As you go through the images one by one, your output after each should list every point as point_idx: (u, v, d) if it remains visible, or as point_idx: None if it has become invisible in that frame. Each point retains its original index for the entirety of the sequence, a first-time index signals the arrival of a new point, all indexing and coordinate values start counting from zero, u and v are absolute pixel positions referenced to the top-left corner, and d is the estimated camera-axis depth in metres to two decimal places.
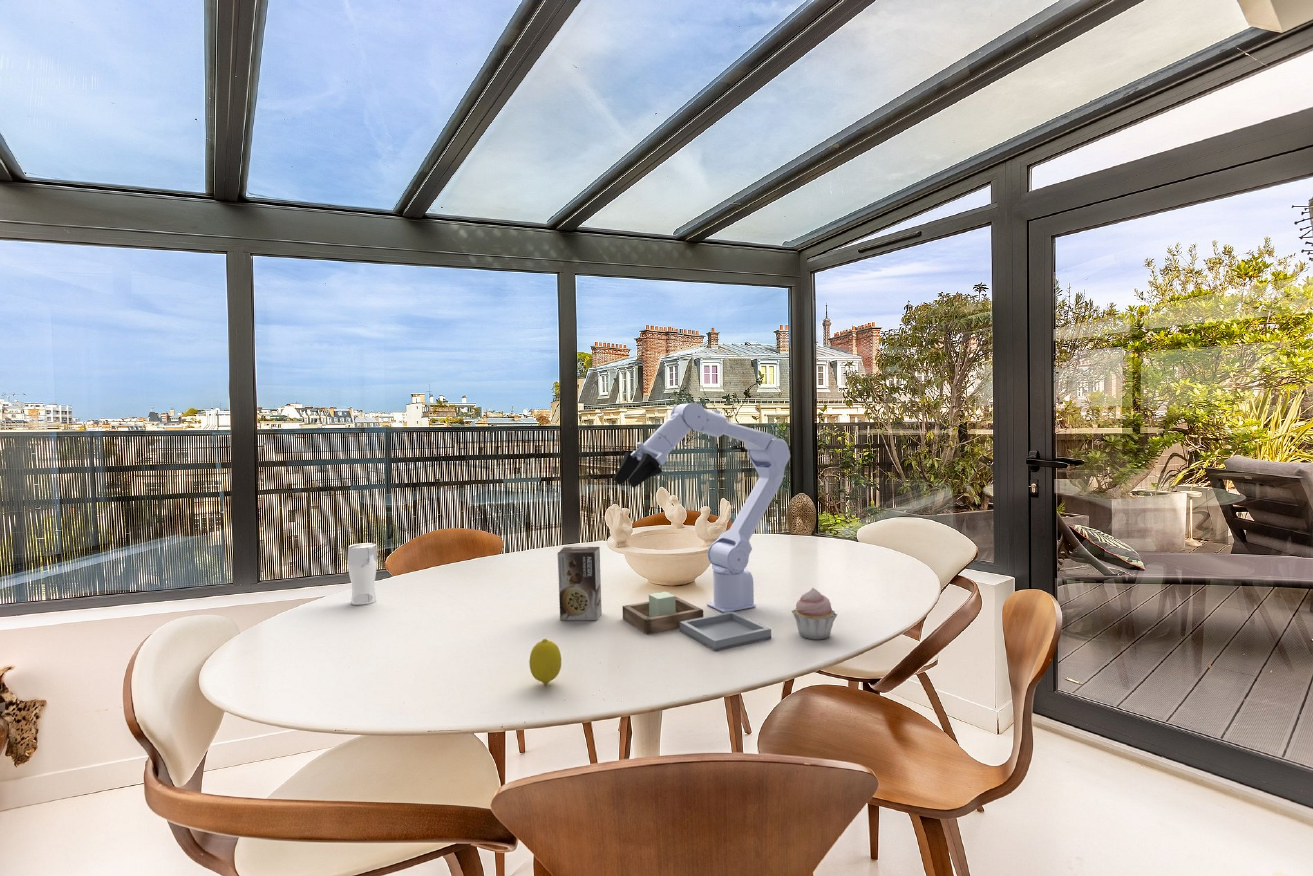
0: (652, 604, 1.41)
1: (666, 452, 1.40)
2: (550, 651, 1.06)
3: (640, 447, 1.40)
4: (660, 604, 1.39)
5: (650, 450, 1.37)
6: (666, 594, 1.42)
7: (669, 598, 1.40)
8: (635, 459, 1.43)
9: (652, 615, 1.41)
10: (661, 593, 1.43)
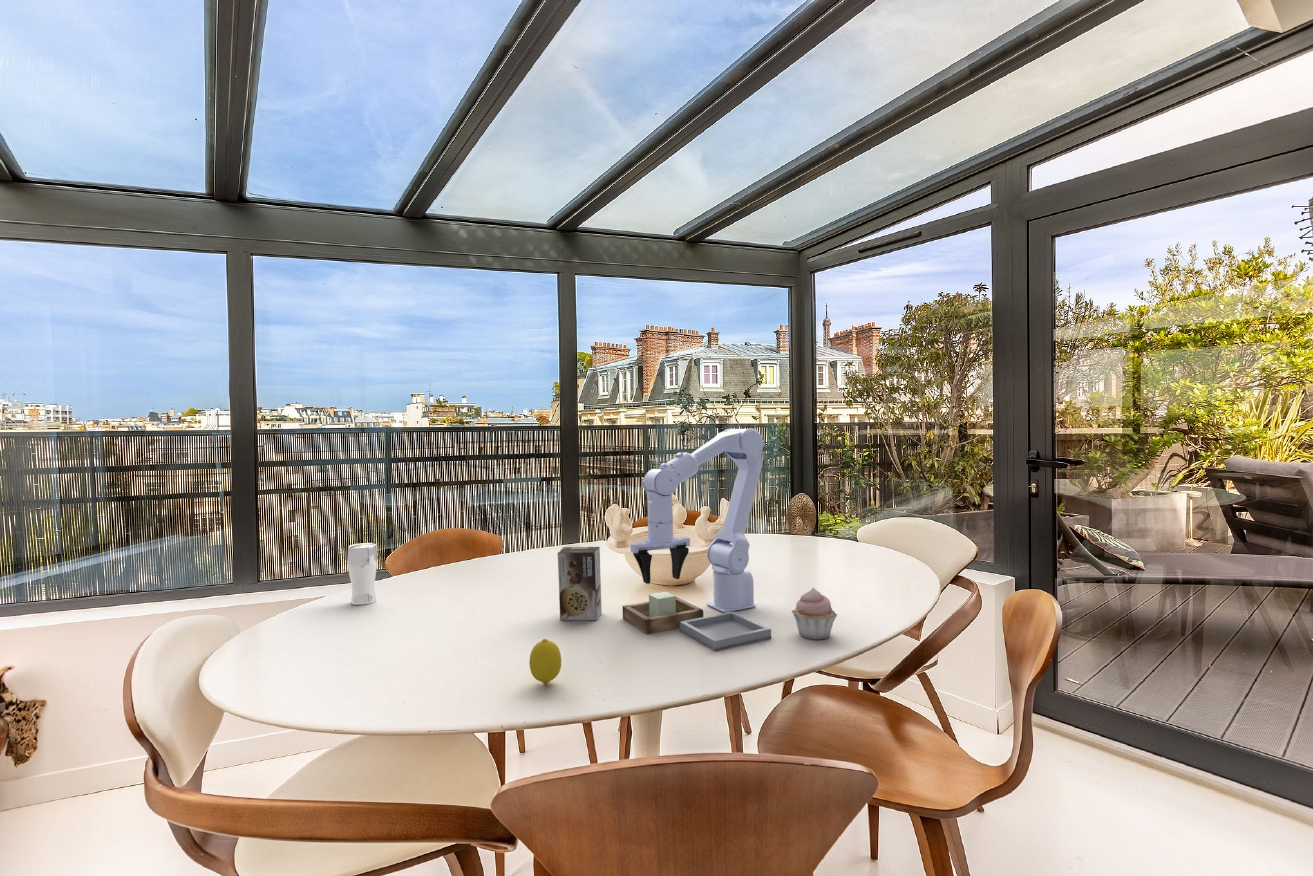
0: (652, 604, 1.41)
1: None
2: (550, 651, 1.06)
3: None
4: (660, 604, 1.39)
5: (678, 542, 1.41)
6: (666, 594, 1.42)
7: (669, 598, 1.40)
8: None
9: (652, 615, 1.41)
10: (661, 593, 1.43)
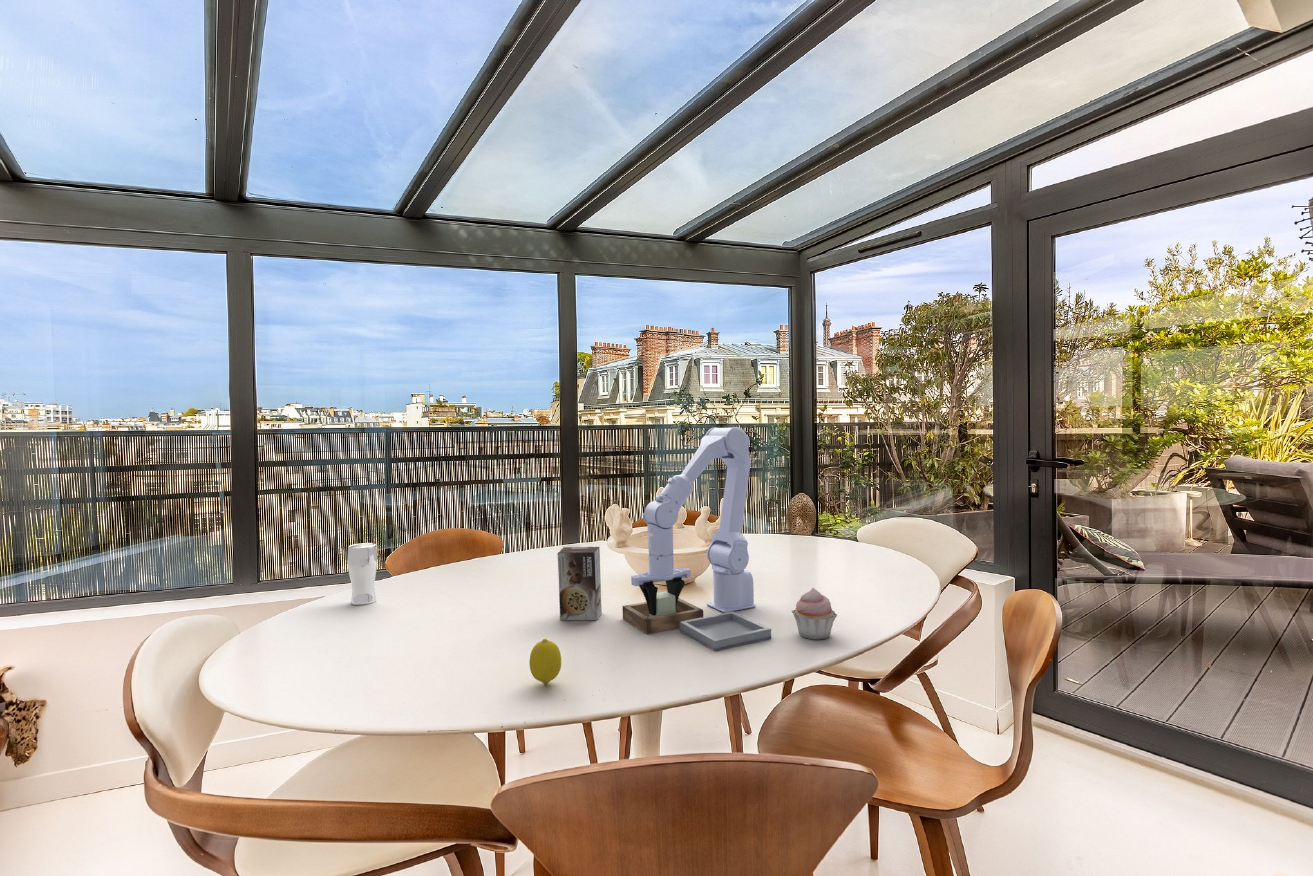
0: None
1: None
2: (550, 651, 1.06)
3: None
4: (660, 604, 1.39)
5: (678, 574, 1.41)
6: (666, 594, 1.42)
7: (669, 598, 1.40)
8: None
9: (652, 615, 1.41)
10: (661, 593, 1.43)
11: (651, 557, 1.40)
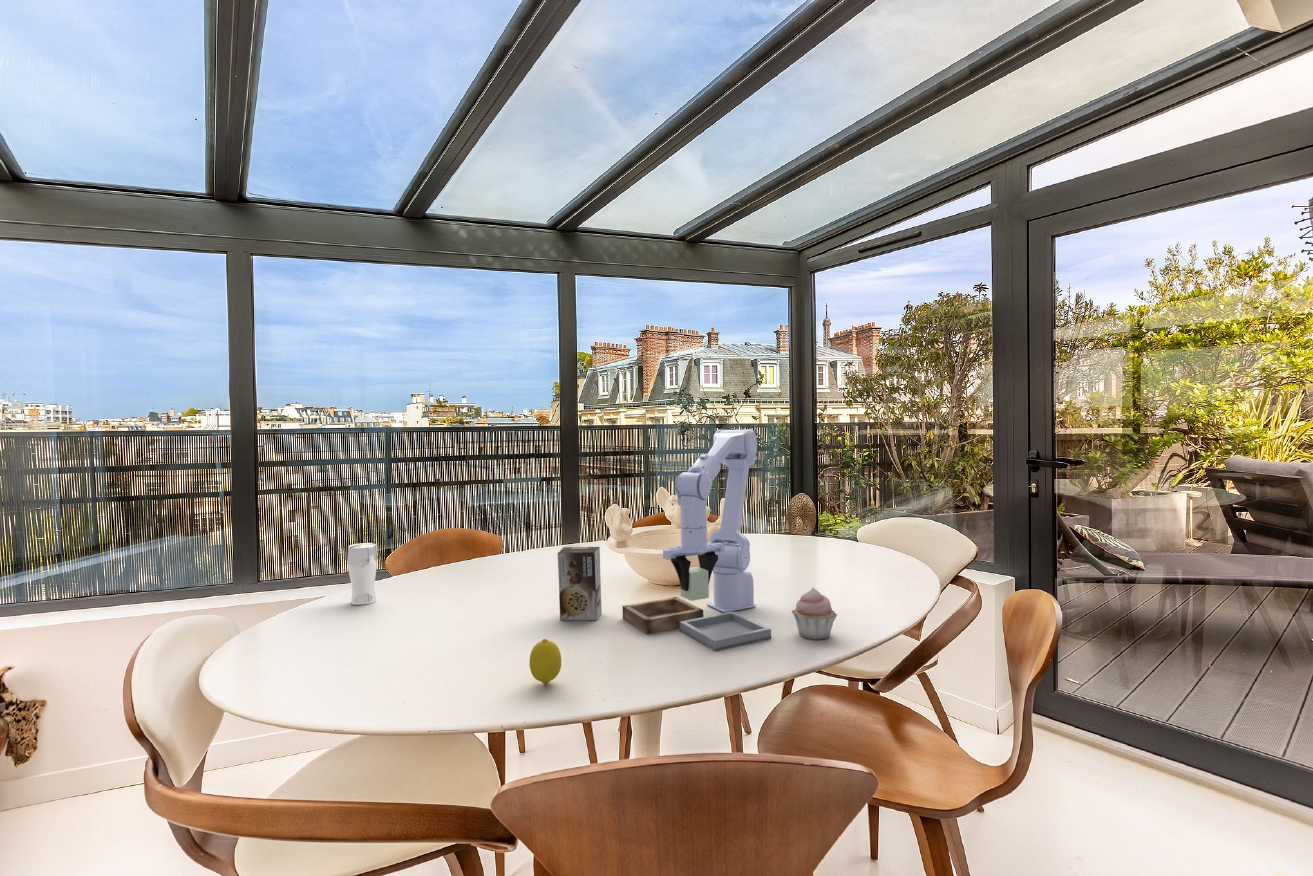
0: None
1: None
2: (550, 651, 1.06)
3: None
4: (693, 579, 1.33)
5: (712, 548, 1.36)
6: (698, 569, 1.37)
7: (702, 572, 1.34)
8: None
9: (684, 590, 1.36)
10: (693, 568, 1.37)
11: (684, 530, 1.34)
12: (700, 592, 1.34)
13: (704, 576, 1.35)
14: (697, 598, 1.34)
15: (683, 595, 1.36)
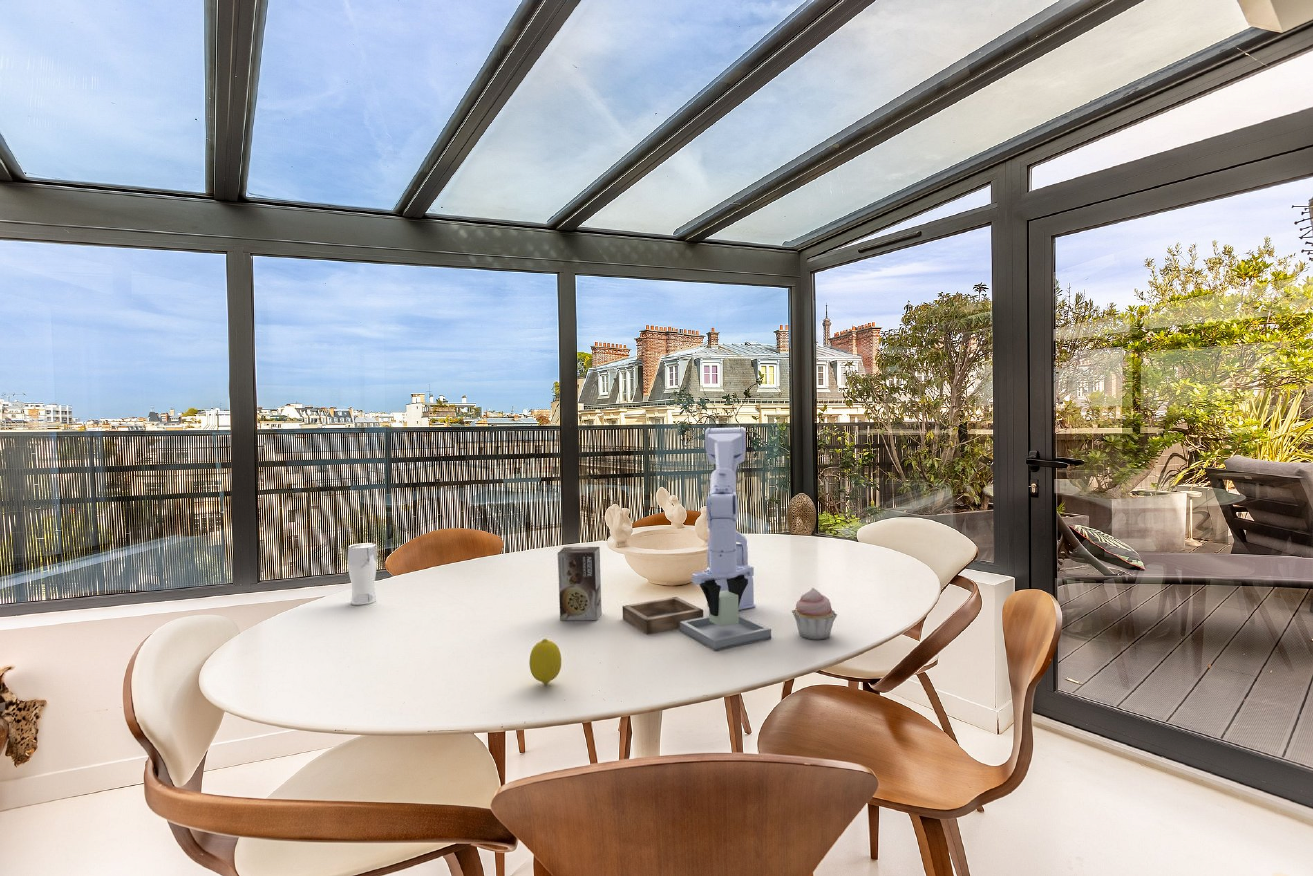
0: None
1: None
2: (550, 651, 1.06)
3: None
4: (723, 604, 1.29)
5: (741, 572, 1.31)
6: (728, 593, 1.32)
7: (732, 597, 1.30)
8: None
9: (713, 616, 1.31)
10: (722, 592, 1.33)
11: (713, 553, 1.30)
12: (729, 617, 1.30)
13: (734, 601, 1.30)
14: (727, 624, 1.29)
15: (712, 620, 1.32)
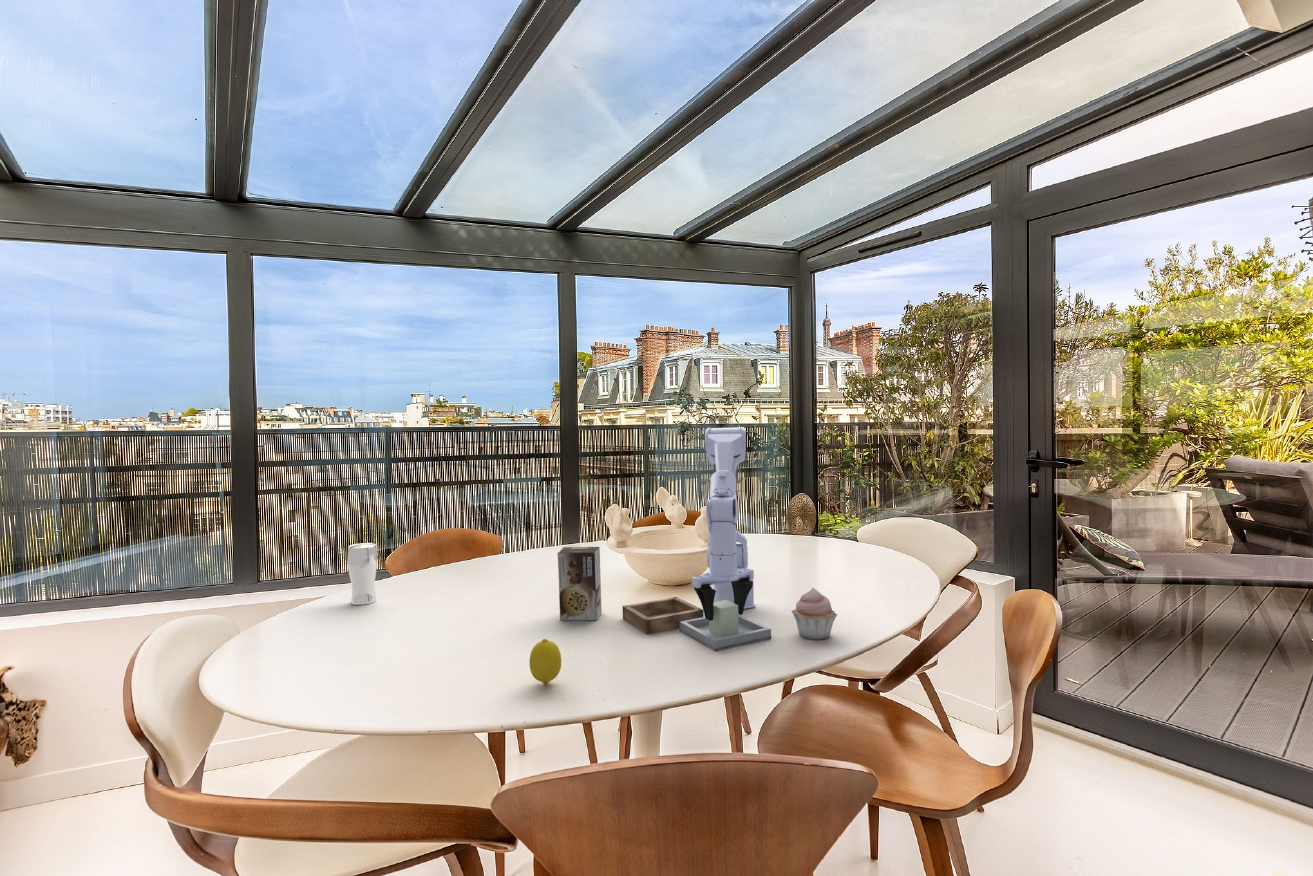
0: None
1: None
2: (550, 651, 1.06)
3: None
4: (723, 614, 1.29)
5: (742, 575, 1.31)
6: (728, 603, 1.32)
7: (732, 607, 1.30)
8: None
9: (713, 625, 1.31)
10: (722, 602, 1.33)
11: (713, 557, 1.30)
12: (729, 627, 1.30)
13: (734, 611, 1.30)
14: (727, 634, 1.30)
15: (712, 630, 1.32)
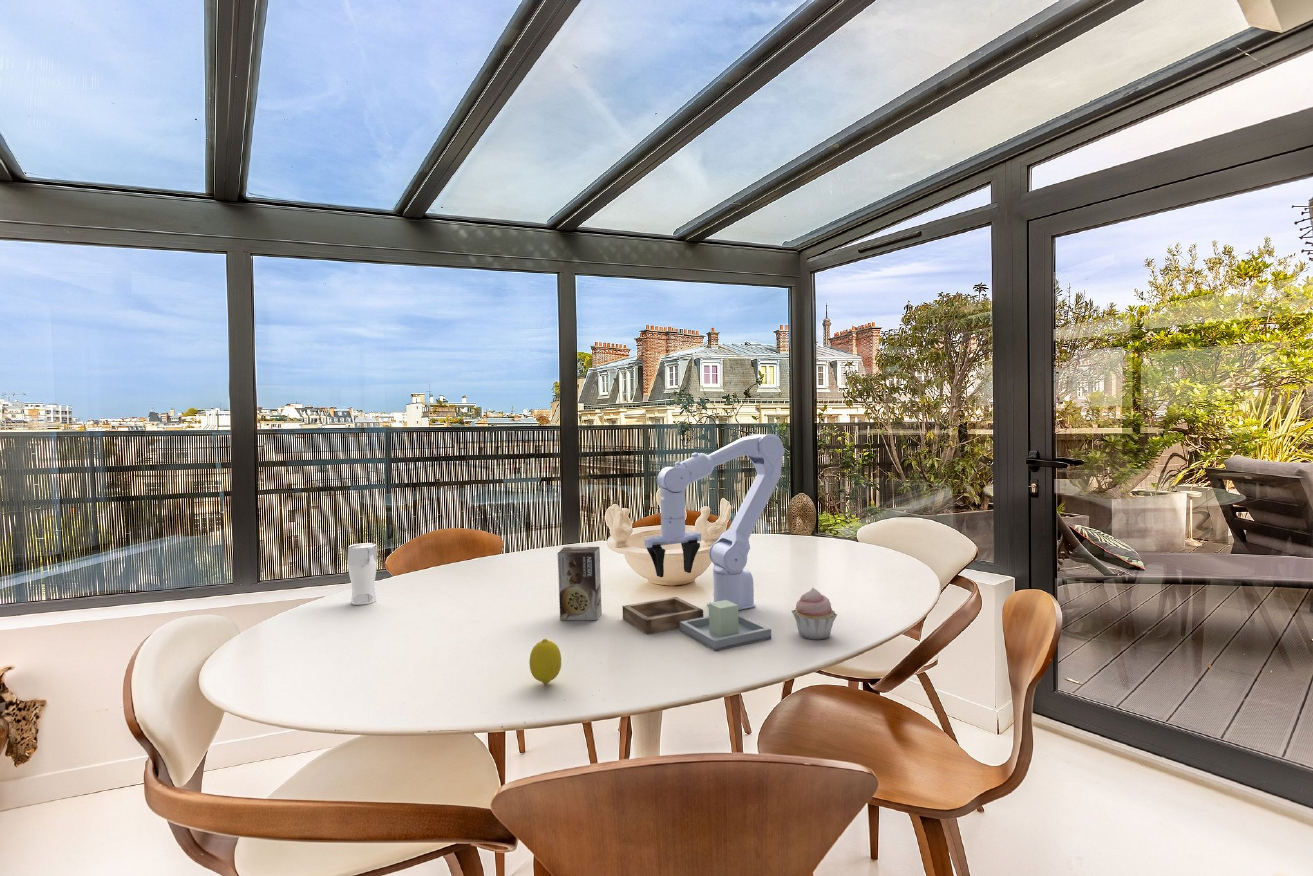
0: (713, 614, 1.31)
1: None
2: (550, 651, 1.06)
3: None
4: (723, 614, 1.29)
5: (689, 537, 1.47)
6: (728, 603, 1.32)
7: (732, 607, 1.30)
8: None
9: (713, 625, 1.31)
10: (722, 602, 1.33)
11: (663, 520, 1.45)
12: (729, 627, 1.30)
13: (734, 611, 1.30)
14: (727, 634, 1.30)
15: (712, 630, 1.32)
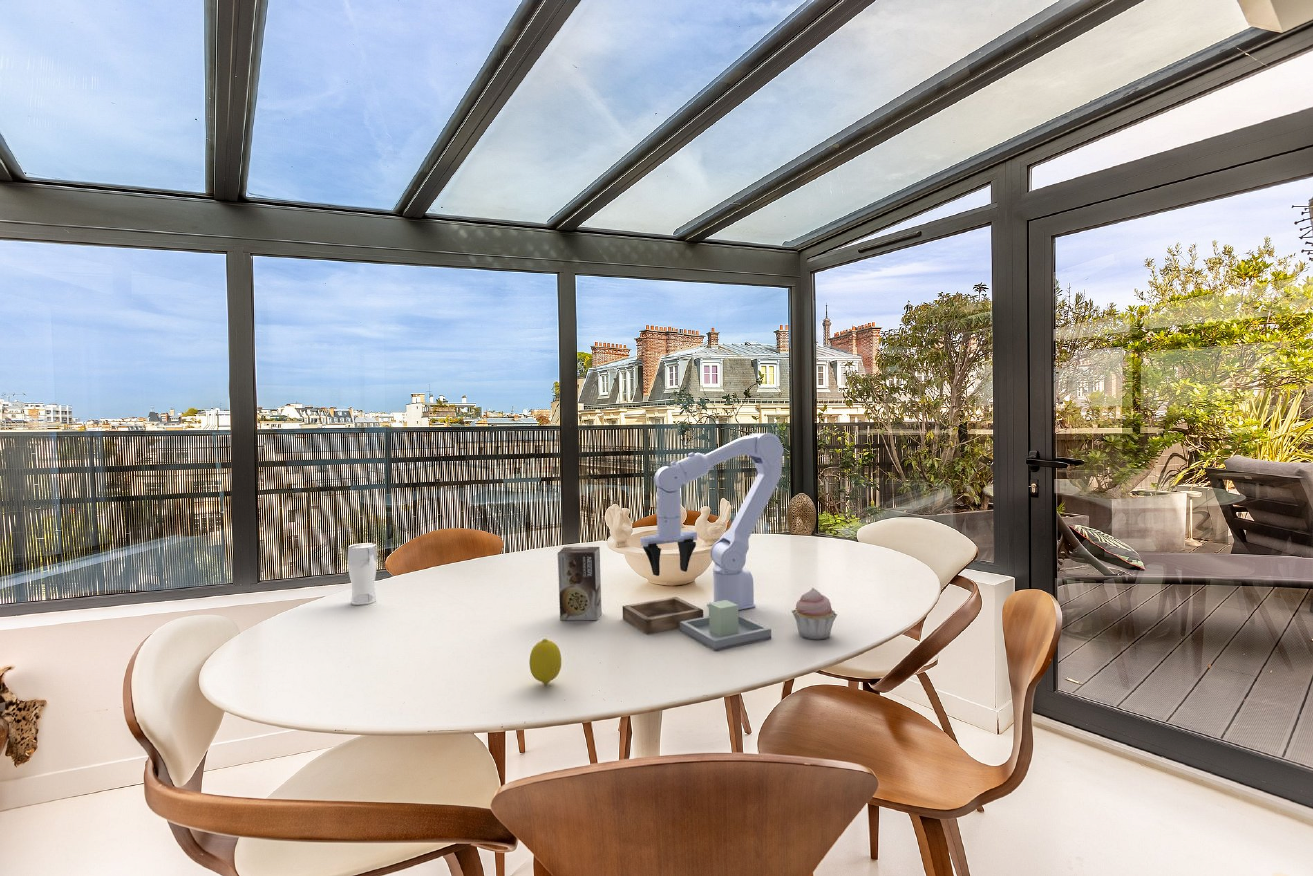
0: (713, 614, 1.31)
1: None
2: (550, 651, 1.06)
3: None
4: (723, 614, 1.29)
5: (685, 536, 1.48)
6: (728, 603, 1.32)
7: (732, 607, 1.30)
8: None
9: (713, 625, 1.31)
10: (722, 602, 1.33)
11: (659, 519, 1.46)
12: (729, 627, 1.30)
13: (734, 611, 1.30)
14: (727, 634, 1.30)
15: (712, 630, 1.32)
